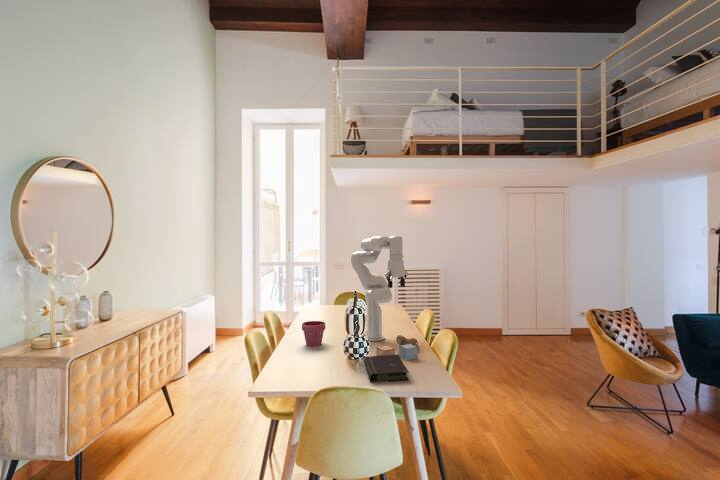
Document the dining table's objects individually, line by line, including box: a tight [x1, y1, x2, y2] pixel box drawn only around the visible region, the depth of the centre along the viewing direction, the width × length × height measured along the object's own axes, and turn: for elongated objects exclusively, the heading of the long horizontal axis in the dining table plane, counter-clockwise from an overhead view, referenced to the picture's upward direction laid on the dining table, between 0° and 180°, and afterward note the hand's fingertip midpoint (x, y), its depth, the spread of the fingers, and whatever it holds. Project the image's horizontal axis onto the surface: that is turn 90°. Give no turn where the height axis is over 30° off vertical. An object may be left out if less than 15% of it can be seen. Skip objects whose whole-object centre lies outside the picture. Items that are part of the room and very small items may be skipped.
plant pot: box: [301, 320, 326, 347], centre depth 235 cm, size 14×14×13 cm
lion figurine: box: [395, 334, 421, 351], centre depth 222 cm, size 15×5×9 cm, turn 108°
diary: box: [363, 354, 410, 383], centre depth 186 cm, size 19×25×5 cm
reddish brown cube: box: [375, 345, 396, 356], centre depth 205 cm, size 7×7×6 cm
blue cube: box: [398, 344, 419, 361], centre depth 208 cm, size 7×7×6 cm
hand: (396, 287), depth 225 cm, fingers open, 9 cm apart
